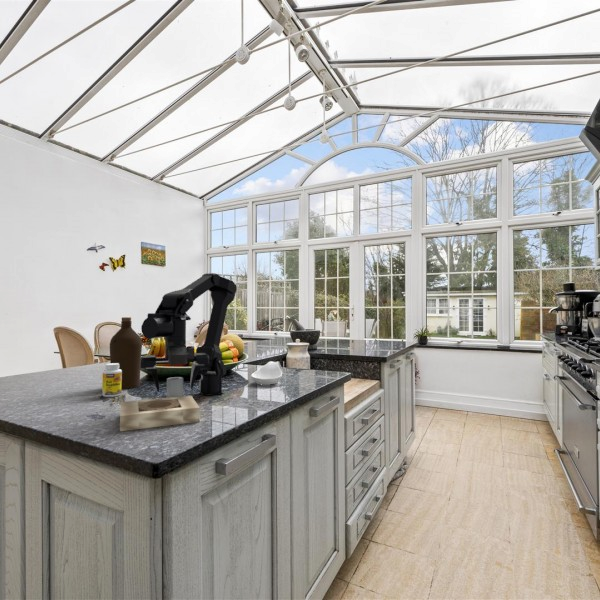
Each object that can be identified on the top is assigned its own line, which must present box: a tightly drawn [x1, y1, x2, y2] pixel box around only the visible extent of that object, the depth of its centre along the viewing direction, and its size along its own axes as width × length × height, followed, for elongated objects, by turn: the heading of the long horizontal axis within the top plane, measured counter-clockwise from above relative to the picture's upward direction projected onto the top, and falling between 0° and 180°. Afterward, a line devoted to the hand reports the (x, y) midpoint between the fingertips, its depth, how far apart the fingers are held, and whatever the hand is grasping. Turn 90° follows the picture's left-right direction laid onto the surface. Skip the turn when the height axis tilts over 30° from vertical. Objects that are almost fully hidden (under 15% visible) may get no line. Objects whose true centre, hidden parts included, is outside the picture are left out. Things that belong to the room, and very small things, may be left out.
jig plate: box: [119, 395, 201, 432], centre depth 96 cm, size 18×14×4 cm
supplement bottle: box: [101, 362, 122, 398], centre depth 121 cm, size 6×6×10 cm
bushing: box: [166, 376, 184, 398], centre depth 108 cm, size 4×4×8 cm
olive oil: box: [109, 316, 143, 390], centre depth 134 cm, size 11×11×25 cm
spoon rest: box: [250, 361, 283, 386], centre depth 146 cm, size 24×12×7 cm, turn 172°
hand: (175, 389), depth 108 cm, fingers open, 9 cm apart
